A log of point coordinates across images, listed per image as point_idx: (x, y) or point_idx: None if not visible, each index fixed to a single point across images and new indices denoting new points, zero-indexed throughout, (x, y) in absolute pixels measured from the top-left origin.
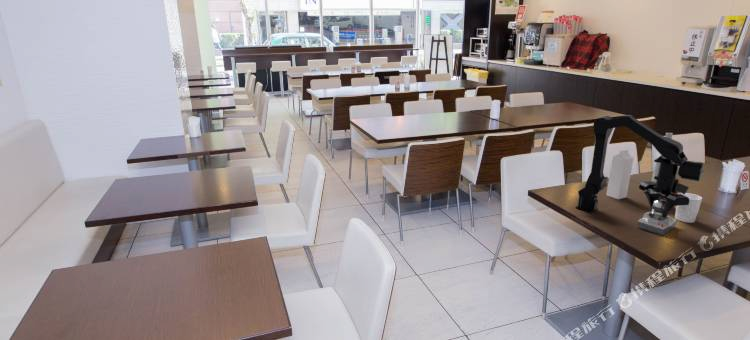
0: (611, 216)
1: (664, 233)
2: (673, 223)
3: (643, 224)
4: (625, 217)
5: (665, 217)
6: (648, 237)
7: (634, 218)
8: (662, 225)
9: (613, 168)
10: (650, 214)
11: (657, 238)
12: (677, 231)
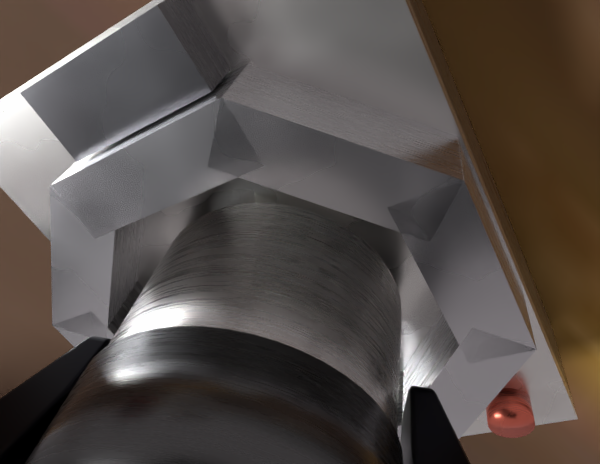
0: (12, 389)
1: (541, 302)
2: (434, 61)
3: None
4: (14, 306)
5: (395, 336)
6: (518, 457)
7: (28, 244)
8: (530, 426)
9: None
10: (122, 305)
11: (580, 417)
12: (546, 13)
